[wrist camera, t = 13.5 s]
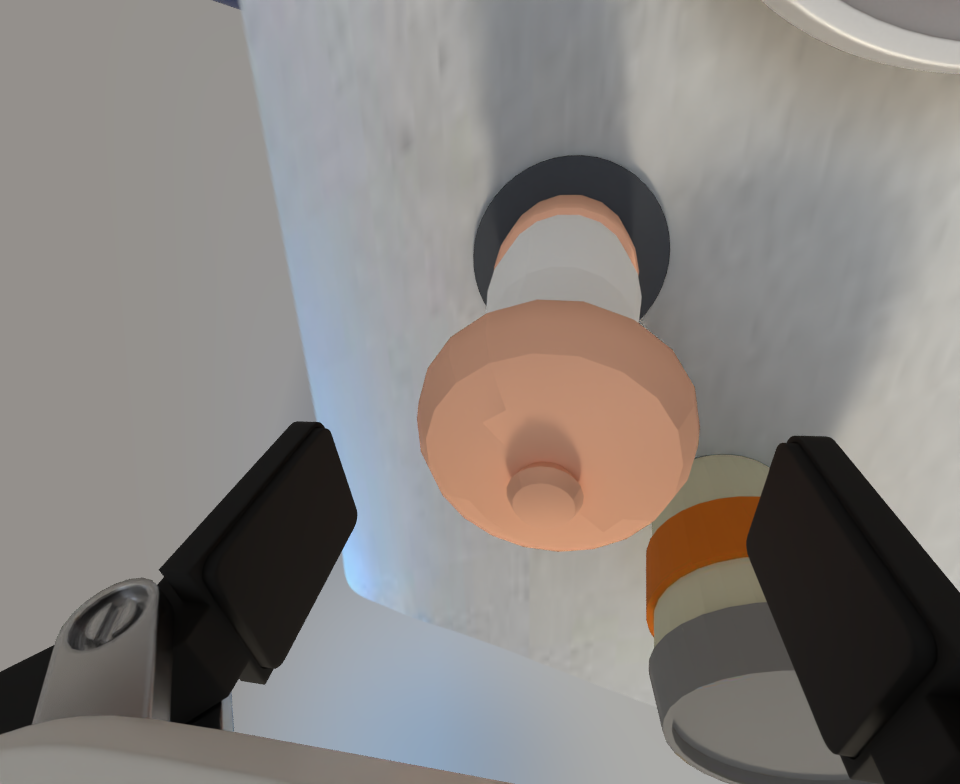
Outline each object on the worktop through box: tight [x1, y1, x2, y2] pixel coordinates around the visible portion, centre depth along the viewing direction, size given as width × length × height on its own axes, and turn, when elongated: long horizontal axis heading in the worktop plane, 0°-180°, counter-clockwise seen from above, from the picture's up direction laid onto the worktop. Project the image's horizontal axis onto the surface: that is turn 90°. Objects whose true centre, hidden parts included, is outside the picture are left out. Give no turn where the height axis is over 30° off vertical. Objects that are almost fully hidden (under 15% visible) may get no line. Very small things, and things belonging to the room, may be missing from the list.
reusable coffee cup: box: [646, 455, 877, 784], centre depth 26 cm, size 12×13×15 cm
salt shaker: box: [417, 195, 700, 552], centre depth 17 cm, size 7×7×19 cm
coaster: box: [474, 155, 670, 320], centre depth 25 cm, size 11×11×1 cm
